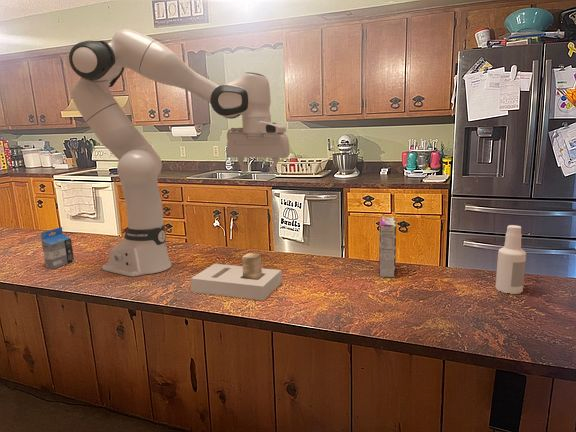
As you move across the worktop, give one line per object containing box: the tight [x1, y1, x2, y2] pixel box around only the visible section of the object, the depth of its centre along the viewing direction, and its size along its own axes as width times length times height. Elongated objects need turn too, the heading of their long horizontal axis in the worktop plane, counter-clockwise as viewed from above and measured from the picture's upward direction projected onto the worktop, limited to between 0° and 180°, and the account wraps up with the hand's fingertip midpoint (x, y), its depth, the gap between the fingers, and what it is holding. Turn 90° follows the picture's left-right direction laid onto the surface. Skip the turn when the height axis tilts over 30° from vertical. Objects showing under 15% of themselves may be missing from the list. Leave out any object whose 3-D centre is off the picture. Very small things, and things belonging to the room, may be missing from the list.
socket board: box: [190, 263, 283, 302], centre depth 129 cm, size 22×14×4 cm, turn 71°
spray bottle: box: [494, 224, 527, 295], centre depth 122 cm, size 7×7×18 cm
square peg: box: [241, 252, 263, 280], centre depth 127 cm, size 4×4×10 cm
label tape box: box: [40, 226, 75, 270], centre depth 153 cm, size 9×4×12 cm, turn 160°
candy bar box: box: [378, 216, 397, 278], centre depth 139 cm, size 11×5×16 cm, turn 168°
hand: (258, 172), depth 142 cm, fingers open, 8 cm apart
